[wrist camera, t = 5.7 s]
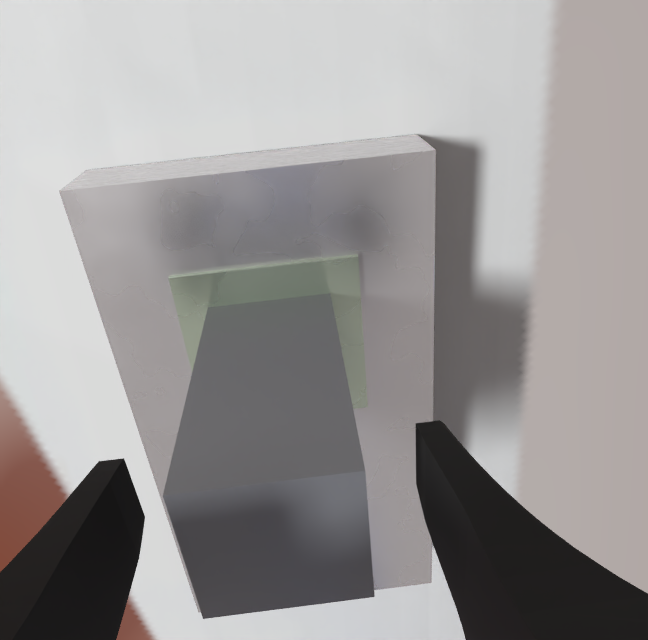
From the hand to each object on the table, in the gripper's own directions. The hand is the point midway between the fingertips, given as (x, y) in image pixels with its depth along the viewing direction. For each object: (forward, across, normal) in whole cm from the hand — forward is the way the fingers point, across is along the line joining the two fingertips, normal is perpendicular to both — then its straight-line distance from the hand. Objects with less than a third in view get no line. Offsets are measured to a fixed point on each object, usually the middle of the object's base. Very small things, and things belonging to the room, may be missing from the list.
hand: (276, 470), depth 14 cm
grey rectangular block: (+6, 0, 0) cm, 6 cm away
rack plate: (+8, 0, +4) cm, 9 cm away
